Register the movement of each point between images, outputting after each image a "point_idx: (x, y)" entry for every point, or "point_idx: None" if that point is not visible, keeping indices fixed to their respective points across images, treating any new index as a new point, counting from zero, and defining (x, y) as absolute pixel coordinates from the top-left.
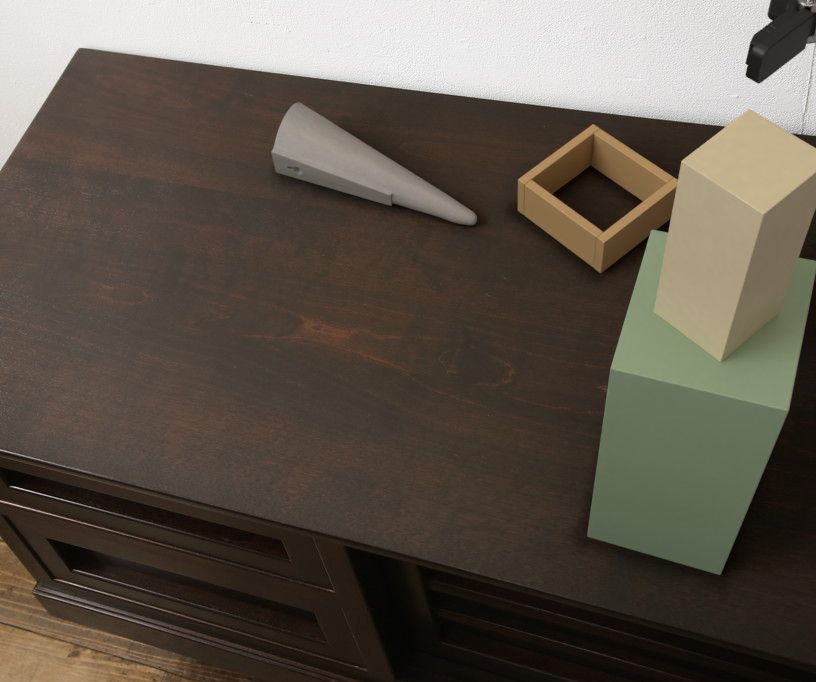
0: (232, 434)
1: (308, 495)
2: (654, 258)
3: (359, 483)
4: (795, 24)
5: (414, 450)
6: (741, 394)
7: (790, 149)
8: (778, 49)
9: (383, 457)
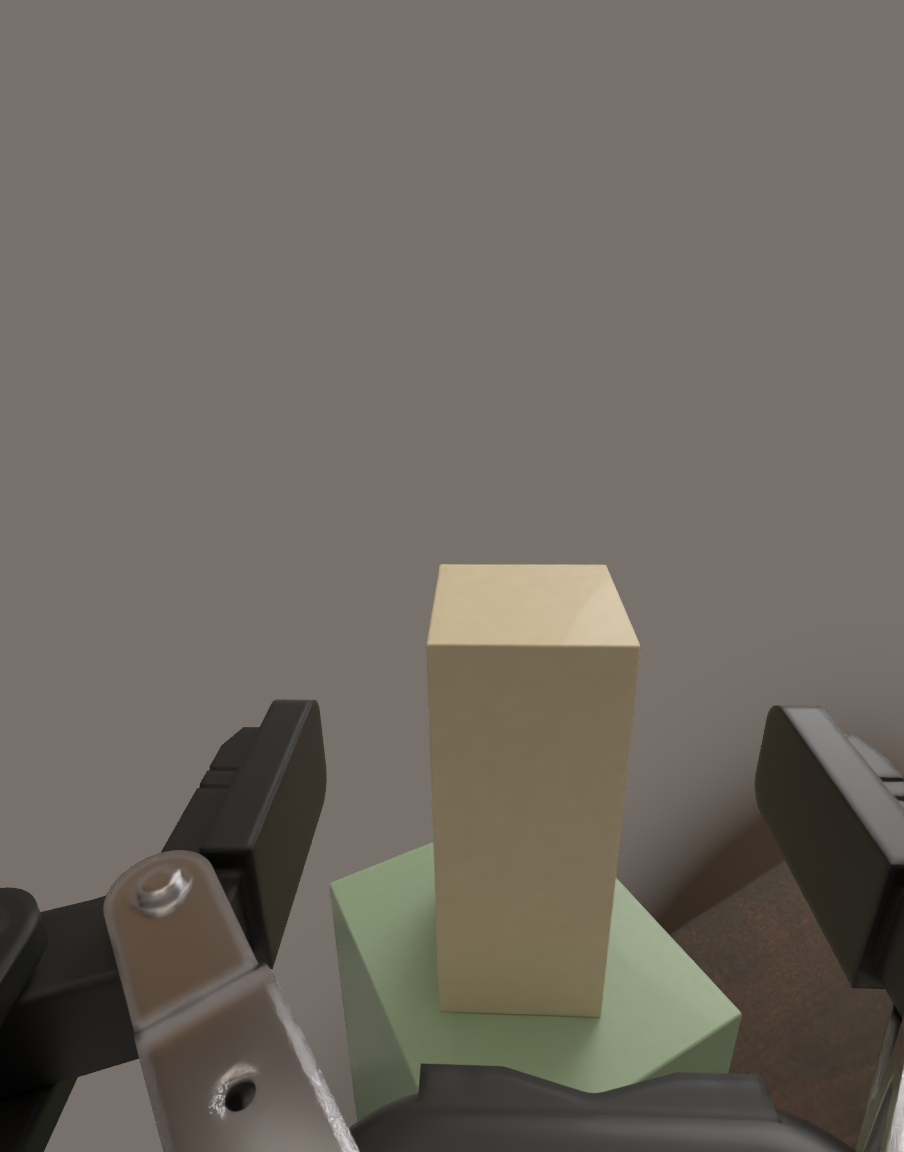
0: None
1: (746, 925)
2: (674, 964)
3: (736, 970)
4: (857, 796)
5: (753, 1048)
6: (393, 862)
7: (502, 629)
8: (796, 771)
9: (759, 1013)
